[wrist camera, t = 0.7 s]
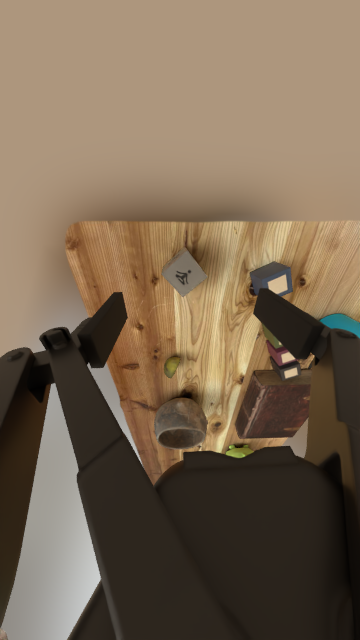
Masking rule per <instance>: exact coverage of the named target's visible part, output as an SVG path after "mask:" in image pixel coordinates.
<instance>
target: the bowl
mask: <svg viewBox="0 0 360 640" xmlns="http://www.w3.org/2000/svg"><path fill="white" fill-rule="evenodd" d="M207 424H208V421H207V420H206V416H205V414H204V412H203V410H202V408H201V407H200V405H199V404H198V403H196V402H195V401H193V400H191V399H188V398H175V399H173V400H170V401H168V402H166V403H165V404H163V405H162V406H161V407H160V408H159V410H158V411H157V413H156V417H155V421H154V427H155V434H156V438H157V441H158V443H159V444H160V445H161V446H163V447H165V448H169V449H188V448H193V447H196V446H198V445H200V444H201V443H202V442H203V441H204V439H205V436H206V430H207Z"/></svg>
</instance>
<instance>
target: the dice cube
mask: <svg viewBox="0 0 360 640" xmlns="http://www.w3.org/2000/svg"><path fill="white" fill-rule="evenodd" d="M162 275H163V276H164V277H165V279H166V280H167V281H168V282H169V283H170V284H171V285H172V286H173V287H174V288H175V289H176V290H177V291H178V293H179V294H180V295H181V296H182V297H184V296H185V295H186V294H188V293H189V292H190V291H191V290H192V289H194V288H195V287H196V286H197V285H199V284H200V283H201V282H202V281H204V280H205V279H206V278H207V275H206V274H205V272H204V271H203V270H202V268H201V267H200V266H199V264H198V263H197V262H196V260H195V259H194V258H193V257H192V255H191V254H190V253H189V251H188V250H187V249H186V247H185V246H184V247H183V248H182V249H181V250H180V251H179V252H178V253H177V254H176V255H175V256H174V257H173V258H172V259H171V260H170V261H169V262H168V263H166V264H165V265H164V266H163V269H162Z"/></svg>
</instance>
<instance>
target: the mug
mask: <svg viewBox="0 0 360 640" xmlns="http://www.w3.org/2000/svg"><path fill="white" fill-rule="evenodd" d="M320 322H322V323H323V324H325V325H326V326H328V327H329V328H331V329H333V328H339V329H344V330H347V331H350V332H352V333H354V334H356V335H357V336H358V337H359V339H360V323H359V322H357V321H355V320H354V319H352V318H350V317H348V316H346V315H343V314H332V315H329V316H326V317H325V318H323V319H321V320H320Z"/></svg>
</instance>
